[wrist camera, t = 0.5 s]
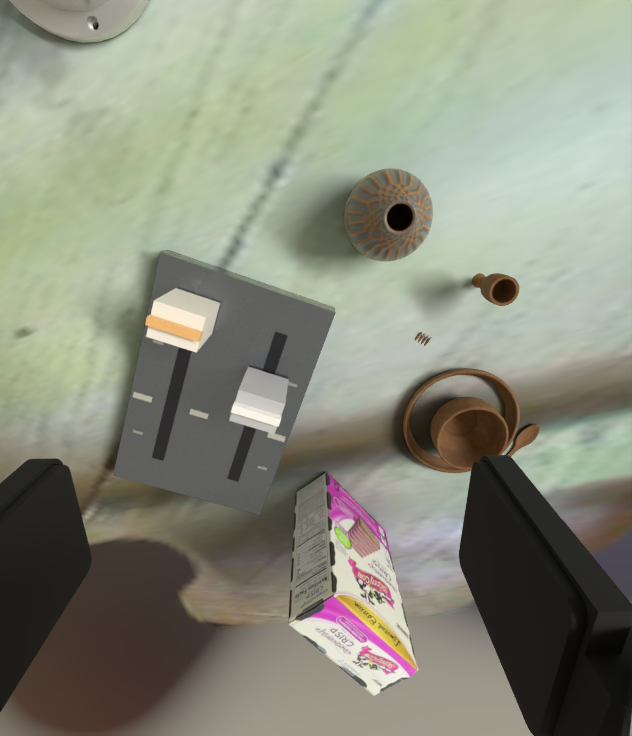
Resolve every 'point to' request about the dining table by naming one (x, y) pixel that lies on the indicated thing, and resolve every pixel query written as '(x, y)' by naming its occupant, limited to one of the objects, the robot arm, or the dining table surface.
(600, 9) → the dining table surface
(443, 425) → the place setting
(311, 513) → the candy bar box
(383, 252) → the vase
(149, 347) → the console
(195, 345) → the ivory fader
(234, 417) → the grey fader
